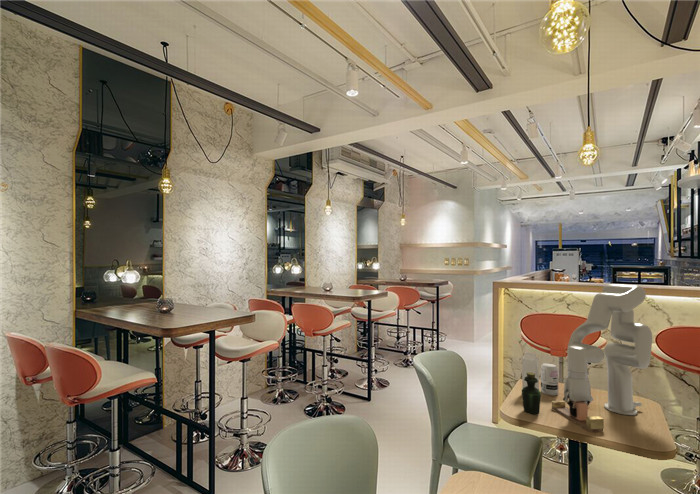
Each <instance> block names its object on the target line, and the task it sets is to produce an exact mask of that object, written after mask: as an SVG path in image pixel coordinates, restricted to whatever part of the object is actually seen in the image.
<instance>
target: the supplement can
mask: <svg viewBox="0 0 700 494" xmlns="http://www.w3.org/2000/svg"><path fill="white" fill-rule="evenodd" d="M540 392H541V393H543V394H544V395H546V396H557V395H559V368H558V366H557V364H553V363H549V362H543V363H541V365H540Z"/></svg>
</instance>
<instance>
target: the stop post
mask: <svg viewBox="0 0 700 494" xmlns="http://www.w3.org/2000/svg"><path fill="white" fill-rule="evenodd" d="M604 422H605V421H604V418H603V417H601V416H600V415H599V416H598V415H597V416H588V417H586V427H588V428H590V429H603V430H604V427H605V425H604V424H605V423H604Z"/></svg>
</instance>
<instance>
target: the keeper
mask: <svg viewBox="0 0 700 494" xmlns="http://www.w3.org/2000/svg"><path fill="white" fill-rule="evenodd" d="M572 403H573V402H572ZM575 408H576V409H577V417H574V418H576V419H578V420H579V421H581V420H586V417H589V413H588V411H589V410H588V409H589V405H587V403H585V402H583V401H576V406H575ZM568 409H569V415H570V406H569V405H568ZM571 416H572V415H571Z"/></svg>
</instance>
